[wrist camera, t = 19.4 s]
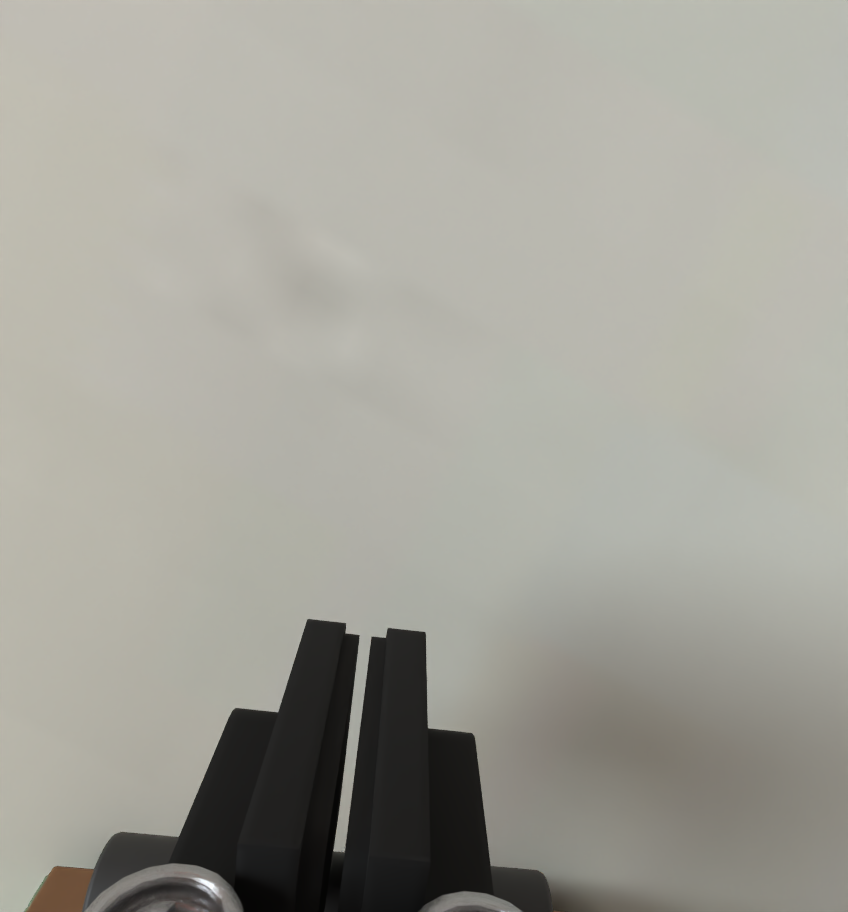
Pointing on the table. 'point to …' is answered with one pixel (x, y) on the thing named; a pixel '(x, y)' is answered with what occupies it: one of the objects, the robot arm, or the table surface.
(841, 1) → the table surface
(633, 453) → the table surface
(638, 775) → the table surface
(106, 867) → the drawer
